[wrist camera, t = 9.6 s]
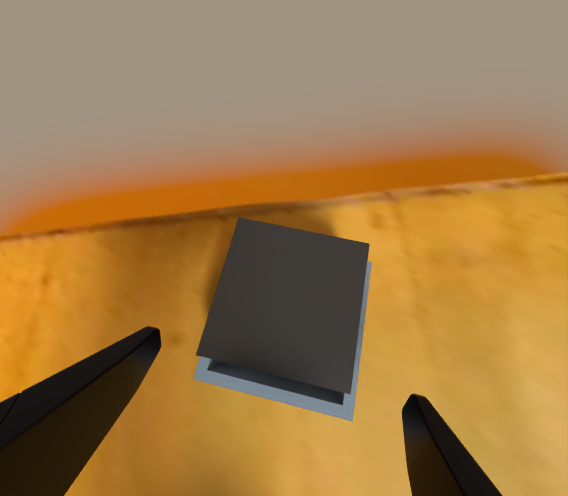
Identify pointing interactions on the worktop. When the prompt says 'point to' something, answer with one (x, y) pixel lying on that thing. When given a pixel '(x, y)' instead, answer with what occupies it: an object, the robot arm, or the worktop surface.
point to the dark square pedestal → (288, 305)
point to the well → (287, 380)
